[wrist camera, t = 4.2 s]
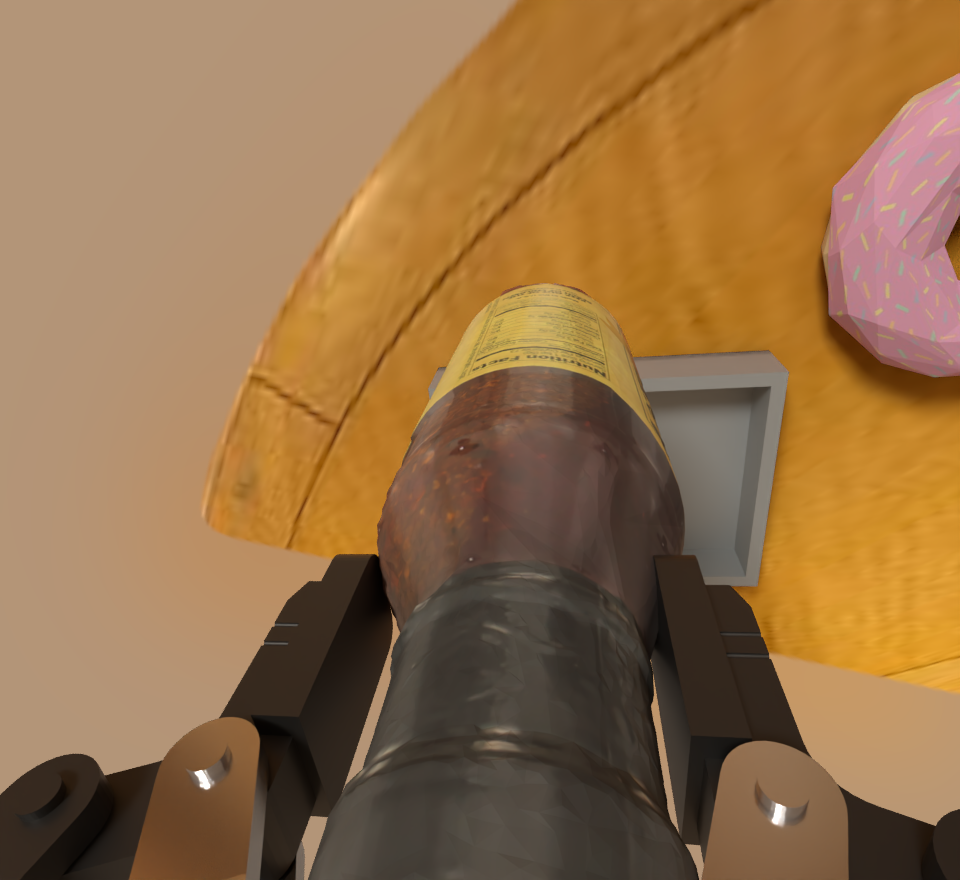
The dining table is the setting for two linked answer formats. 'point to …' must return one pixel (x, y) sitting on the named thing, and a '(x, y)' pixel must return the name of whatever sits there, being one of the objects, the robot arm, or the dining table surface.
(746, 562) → the tray
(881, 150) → the donut
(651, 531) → the sauce bottle
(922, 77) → the dining table surface
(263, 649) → the robot arm
